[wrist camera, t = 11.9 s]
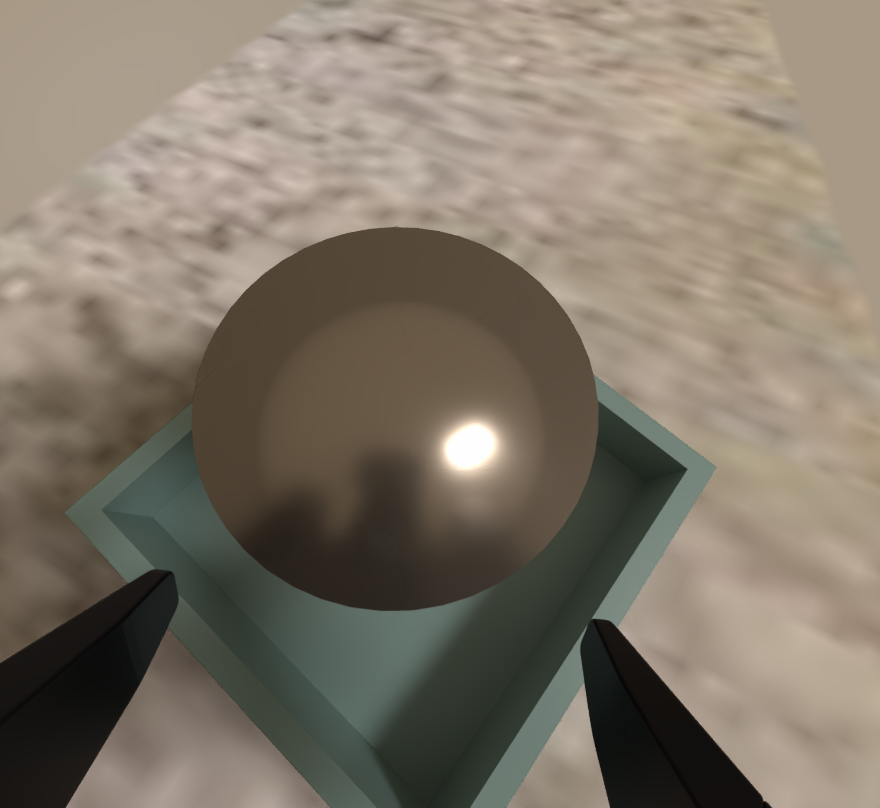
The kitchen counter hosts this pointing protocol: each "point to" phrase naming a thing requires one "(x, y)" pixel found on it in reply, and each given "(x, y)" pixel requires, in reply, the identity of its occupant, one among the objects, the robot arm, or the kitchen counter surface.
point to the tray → (402, 623)
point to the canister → (395, 419)
